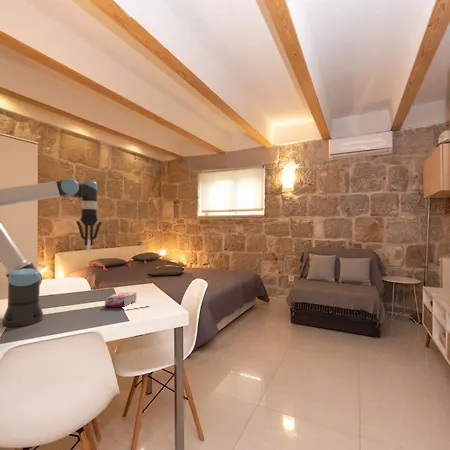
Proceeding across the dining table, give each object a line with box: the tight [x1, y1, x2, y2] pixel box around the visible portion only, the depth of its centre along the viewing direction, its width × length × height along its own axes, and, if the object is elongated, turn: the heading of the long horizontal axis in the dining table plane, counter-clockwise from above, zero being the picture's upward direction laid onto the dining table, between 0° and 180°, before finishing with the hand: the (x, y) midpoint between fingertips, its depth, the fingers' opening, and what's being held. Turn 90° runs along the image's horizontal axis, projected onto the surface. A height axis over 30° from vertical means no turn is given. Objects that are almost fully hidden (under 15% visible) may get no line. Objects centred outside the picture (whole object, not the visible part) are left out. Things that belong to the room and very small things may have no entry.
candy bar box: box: [104, 291, 137, 308], centre depth 157 cm, size 11×5×16 cm
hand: (88, 251), depth 152 cm, fingers closed
